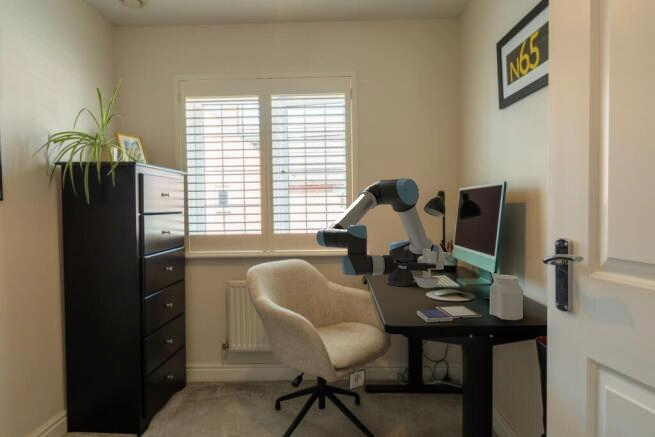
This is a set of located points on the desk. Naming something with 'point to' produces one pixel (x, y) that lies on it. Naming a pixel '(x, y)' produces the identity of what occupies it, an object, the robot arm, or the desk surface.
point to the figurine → (427, 279)
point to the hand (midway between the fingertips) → (437, 263)
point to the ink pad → (434, 315)
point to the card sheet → (458, 311)
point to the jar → (506, 298)
